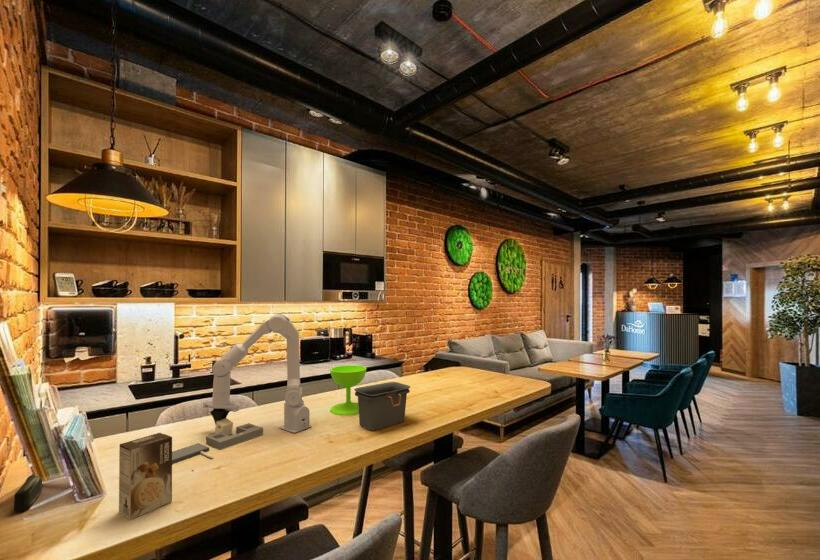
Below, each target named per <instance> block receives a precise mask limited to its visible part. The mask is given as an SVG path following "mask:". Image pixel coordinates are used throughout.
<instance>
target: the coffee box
mask: <svg viewBox="0 0 820 560" xmlns="http://www.w3.org/2000/svg"><path fill="white" fill-rule="evenodd" d="M118 446H119V449H118V450H119V460H118V461H119V465H118V467H119V468H118V470H119V471H118V473H119V474H118V483H119V484H118V513H119V514H121V515H122V516H124V517H126V518H127V519H128V520H133V519H136V518H138V517H140V516H143V515H144V514H147V513H149V512H151V511H154V510H156V509H158V508H160V507H162V506H165V505H167V504H170V503H171V502H173V464H172V452H173V437H172V436H170V435H168V434H166V433H163V432H157V433H154V434H150V435H146V436H143V437H139V438H136V439H132V440H129V441H125V442H123V443H120V444H119V445H118Z"/></svg>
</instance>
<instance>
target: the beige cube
mask: <svg viewBox="0 0 820 560" xmlns="http://www.w3.org/2000/svg"><path fill="white" fill-rule="evenodd" d="M233 426H234V421H232V420H230V419H229V418H227V417H226V418H225V419H222V420H220V421H217V422H216V425H215V428H214V433H213V434H216V433H219V432H221V433H224V434H227V435H229V436H230V435H232V432H233V428H234V427H233Z"/></svg>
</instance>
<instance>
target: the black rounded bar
mask: <svg viewBox="0 0 820 560" xmlns="http://www.w3.org/2000/svg"><path fill="white" fill-rule="evenodd" d="M34 474H35V473H33V474H31V475H29V476H28V477H27V478H26V479H25V482H23V484H22V485H21V487H19V489H18V490H17V491H16V492H15V493H14V495H13V496H14V498H13V499H14V501H13V511H14V513H17V512H21V511H25V510H26V509H28V508H30V507H31V506H32V504H34V502H35V501H36V499H37V498H38V497H39V495H40V494H41V493H42V491H43V488H44V485H43V484H42V479H41V478H40V477H38V476H35V475H34Z"/></svg>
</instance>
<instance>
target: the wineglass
mask: <svg viewBox="0 0 820 560" xmlns="http://www.w3.org/2000/svg"><path fill="white" fill-rule="evenodd" d="M366 374H367V367H366V366H363V365H352V364H351V365H350V364H347V365H337V366H334V367H332V368H330V376H331V378H332V380H333V381H334V383H335V384H337V385H339V386H340V387H343V388H345V389H346V390H345V391H346V392H345V396H346V397H345V402H341V403H337V404H335V405H332V407H331V408H329V409H330V410H329V411H330V413H331V414H333V415H337V416H354V415H359V407H358V402H355V401H354V402H352V401H351V393H352V391H351V390H352V389H351V388H352V387H355V386H357V385H359V384H360V383H362V381H363V380H364V378H365V376H366Z"/></svg>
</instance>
